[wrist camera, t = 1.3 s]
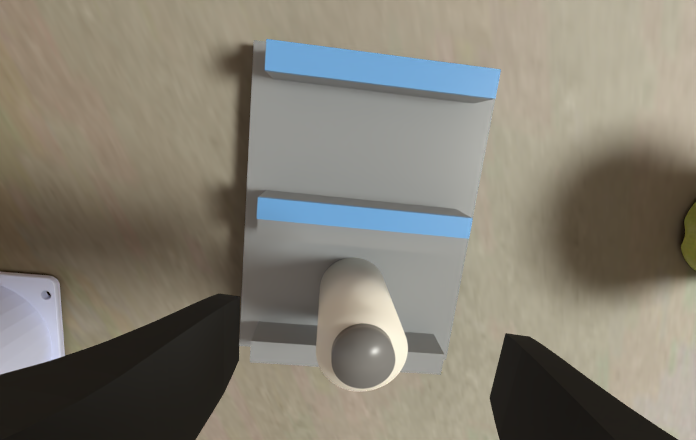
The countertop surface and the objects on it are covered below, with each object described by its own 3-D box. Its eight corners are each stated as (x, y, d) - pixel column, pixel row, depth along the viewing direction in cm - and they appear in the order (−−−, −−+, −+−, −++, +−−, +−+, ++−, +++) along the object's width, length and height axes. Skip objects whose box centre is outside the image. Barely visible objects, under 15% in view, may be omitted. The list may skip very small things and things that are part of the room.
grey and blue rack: (440, 349, 22) (459, 385, 19) (243, 336, 21) (228, 371, 18) (491, 75, 19) (524, 62, 15) (257, 45, 18) (242, 25, 15)
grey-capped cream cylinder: (380, 320, 20) (403, 404, 14) (316, 315, 20) (311, 399, 14) (388, 260, 20) (417, 320, 13) (323, 254, 19) (319, 313, 13)
